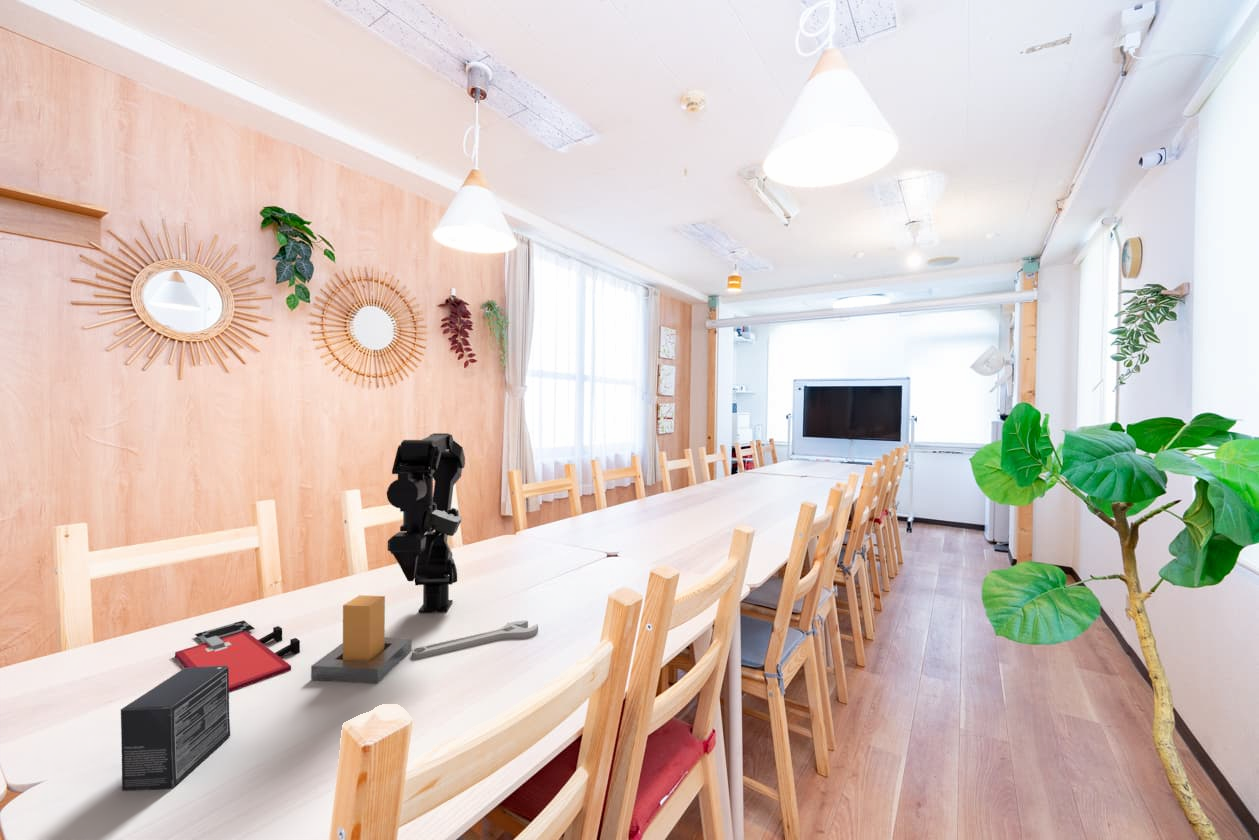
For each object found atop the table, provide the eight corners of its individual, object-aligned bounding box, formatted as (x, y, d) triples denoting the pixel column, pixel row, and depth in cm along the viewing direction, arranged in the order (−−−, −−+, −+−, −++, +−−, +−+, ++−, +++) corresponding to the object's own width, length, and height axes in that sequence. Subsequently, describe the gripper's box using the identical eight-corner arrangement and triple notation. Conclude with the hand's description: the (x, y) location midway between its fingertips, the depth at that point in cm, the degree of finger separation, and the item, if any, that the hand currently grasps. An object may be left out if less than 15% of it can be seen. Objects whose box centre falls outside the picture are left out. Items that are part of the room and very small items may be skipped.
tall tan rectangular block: (359, 657, 98) (359, 595, 97) (384, 658, 97) (384, 596, 97) (342, 671, 93) (343, 605, 92) (369, 672, 92) (369, 606, 92)
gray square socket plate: (352, 648, 101) (352, 635, 101) (411, 650, 101) (411, 638, 100) (311, 680, 89) (311, 665, 89) (377, 683, 89) (377, 668, 89)
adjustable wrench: (412, 662, 97) (412, 653, 97) (409, 648, 103) (409, 639, 103) (540, 636, 109) (540, 628, 109) (531, 625, 114) (531, 617, 114)
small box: (184, 737, 73) (184, 665, 73) (232, 735, 74) (232, 664, 74) (116, 792, 63) (116, 707, 63) (173, 789, 64) (173, 706, 63)
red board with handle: (254, 621, 113) (164, 647, 101) (253, 609, 113) (164, 633, 101) (313, 664, 96) (213, 702, 84) (313, 650, 96) (213, 685, 84)
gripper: (447, 507, 99) (446, 588, 99) (466, 492, 117) (466, 560, 117) (386, 508, 97) (386, 589, 98) (416, 492, 116) (415, 561, 116)
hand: (417, 573), depth 107 cm, fingers open, 9 cm apart
